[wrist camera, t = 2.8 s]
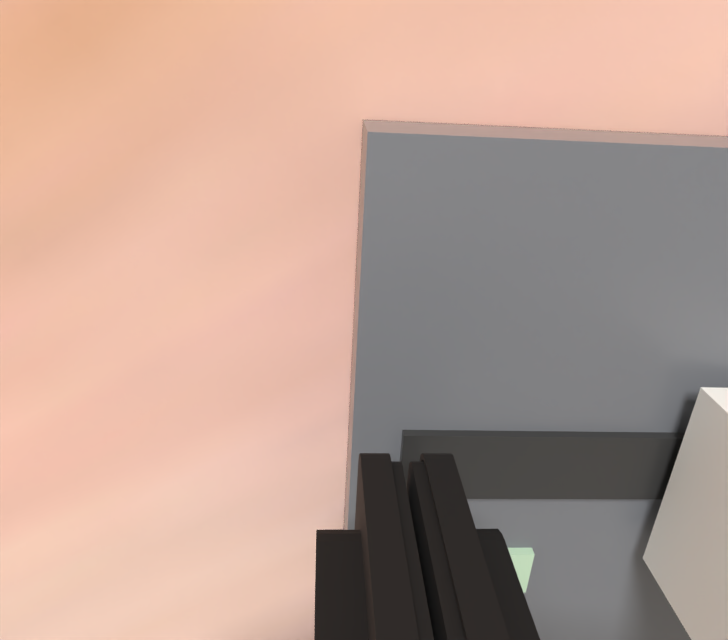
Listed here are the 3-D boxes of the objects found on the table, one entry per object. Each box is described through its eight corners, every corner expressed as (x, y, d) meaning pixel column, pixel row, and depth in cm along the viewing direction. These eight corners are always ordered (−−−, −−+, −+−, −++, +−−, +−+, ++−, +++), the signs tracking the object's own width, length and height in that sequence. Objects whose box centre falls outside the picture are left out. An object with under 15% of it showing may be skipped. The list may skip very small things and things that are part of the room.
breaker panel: (1165, 156, 12) (1289, 173, 10) (762, 817, 22) (794, 875, 21) (362, 119, 11) (368, 133, 9) (329, 832, 21) (329, 895, 20)
